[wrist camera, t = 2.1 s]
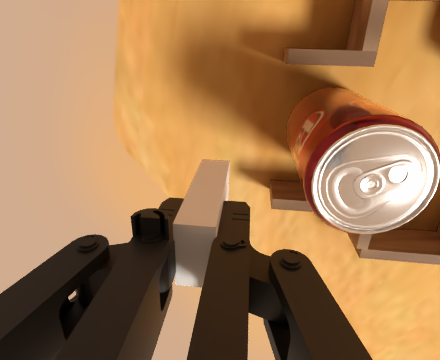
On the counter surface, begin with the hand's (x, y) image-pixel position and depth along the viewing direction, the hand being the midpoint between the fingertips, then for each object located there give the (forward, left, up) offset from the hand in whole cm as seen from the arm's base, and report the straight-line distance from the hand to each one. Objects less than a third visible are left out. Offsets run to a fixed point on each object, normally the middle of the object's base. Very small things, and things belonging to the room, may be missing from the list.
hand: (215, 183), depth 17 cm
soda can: (0, +9, -13) cm, 15 cm away
